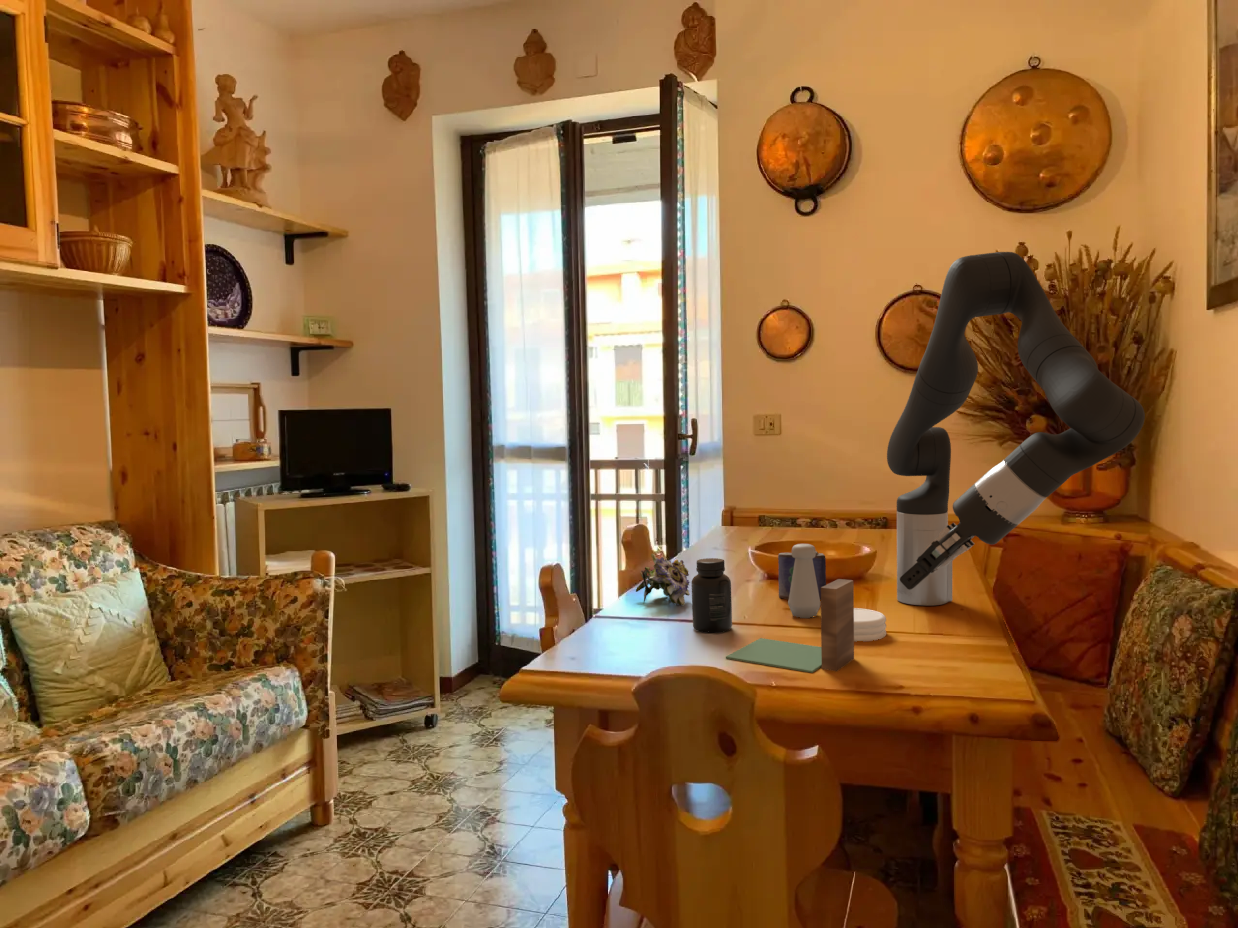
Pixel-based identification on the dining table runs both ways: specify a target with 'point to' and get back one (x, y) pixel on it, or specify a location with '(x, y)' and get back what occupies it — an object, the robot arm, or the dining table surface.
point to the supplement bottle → (711, 597)
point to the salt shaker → (804, 583)
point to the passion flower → (666, 579)
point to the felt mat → (780, 655)
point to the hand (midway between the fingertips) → (905, 583)
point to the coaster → (868, 625)
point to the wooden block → (837, 624)
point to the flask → (787, 569)
